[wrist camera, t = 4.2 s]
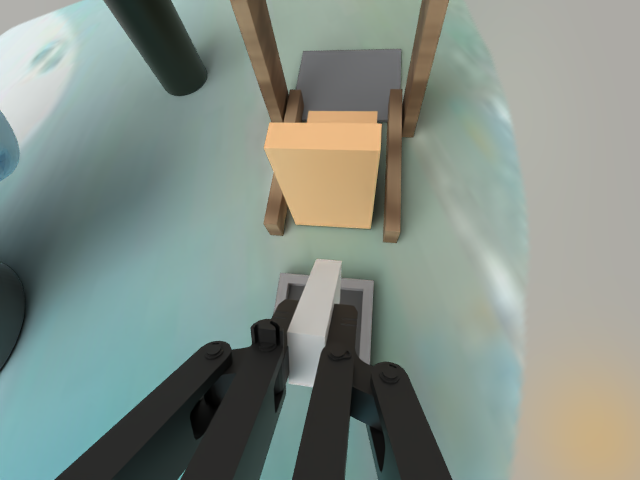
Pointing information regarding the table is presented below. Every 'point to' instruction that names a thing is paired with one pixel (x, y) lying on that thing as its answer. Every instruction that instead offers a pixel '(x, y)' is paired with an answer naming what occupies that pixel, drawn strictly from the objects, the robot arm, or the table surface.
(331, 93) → the felt mat
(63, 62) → the table surface
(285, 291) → the pad
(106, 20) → the table surface
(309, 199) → the tan l-shaped block
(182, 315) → the table surface
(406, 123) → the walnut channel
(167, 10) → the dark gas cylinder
